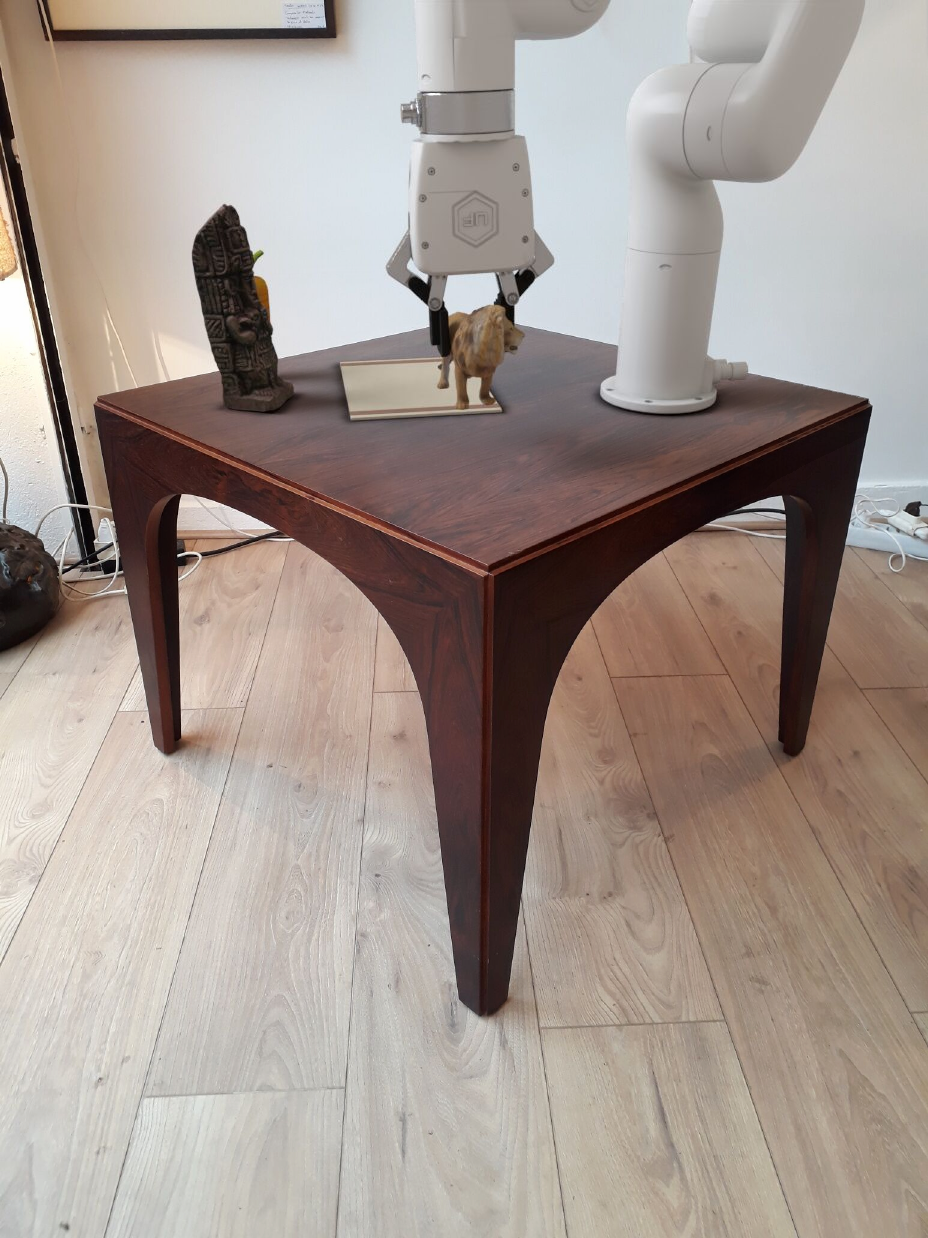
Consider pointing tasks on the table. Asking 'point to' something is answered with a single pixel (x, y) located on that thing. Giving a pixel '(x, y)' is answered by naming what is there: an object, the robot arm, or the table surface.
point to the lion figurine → (478, 350)
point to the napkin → (406, 390)
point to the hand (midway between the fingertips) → (472, 348)
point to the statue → (236, 315)
